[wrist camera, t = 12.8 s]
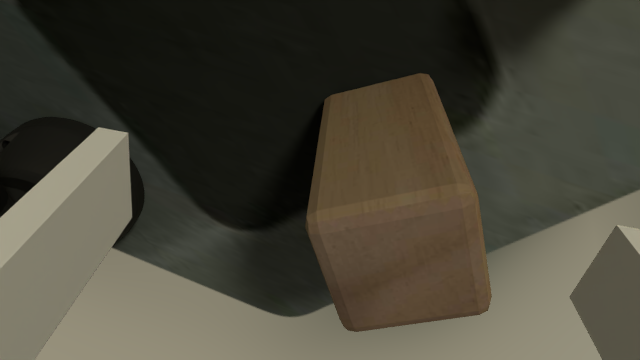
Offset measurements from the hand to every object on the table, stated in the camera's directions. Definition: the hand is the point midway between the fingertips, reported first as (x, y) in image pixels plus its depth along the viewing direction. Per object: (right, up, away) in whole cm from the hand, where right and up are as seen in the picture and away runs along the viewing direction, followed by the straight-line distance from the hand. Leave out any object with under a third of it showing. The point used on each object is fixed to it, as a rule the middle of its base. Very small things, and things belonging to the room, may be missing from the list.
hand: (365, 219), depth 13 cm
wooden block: (+5, +6, +32) cm, 33 cm away
